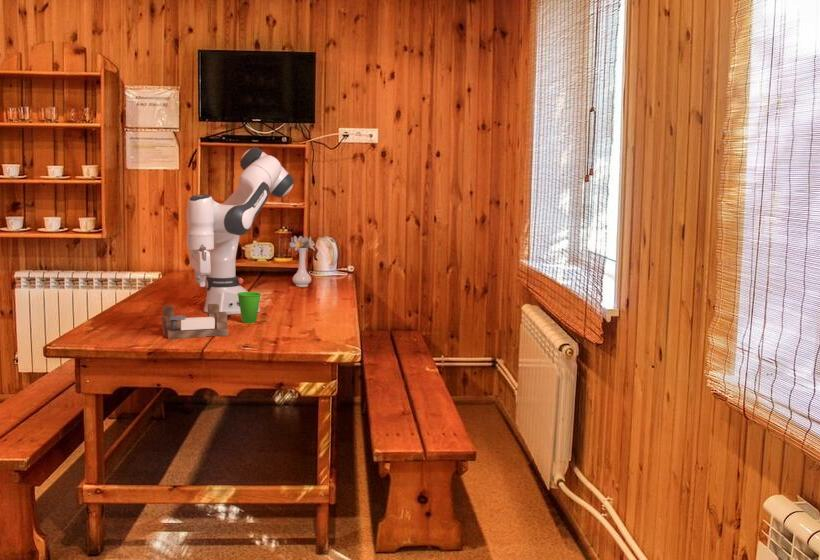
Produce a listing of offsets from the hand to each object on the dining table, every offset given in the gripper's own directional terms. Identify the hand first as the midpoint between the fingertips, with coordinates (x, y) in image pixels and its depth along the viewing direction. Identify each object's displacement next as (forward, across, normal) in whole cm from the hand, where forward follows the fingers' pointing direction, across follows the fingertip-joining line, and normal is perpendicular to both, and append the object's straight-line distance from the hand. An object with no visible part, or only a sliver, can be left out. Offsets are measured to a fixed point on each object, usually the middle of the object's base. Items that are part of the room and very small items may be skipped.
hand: (200, 284), depth 267 cm
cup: (+19, +27, -22) cm, 40 cm away
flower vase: (+19, +110, -65) cm, 129 cm away
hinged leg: (+16, +7, +2) cm, 18 cm away
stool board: (+19, +15, 0) cm, 24 cm away
